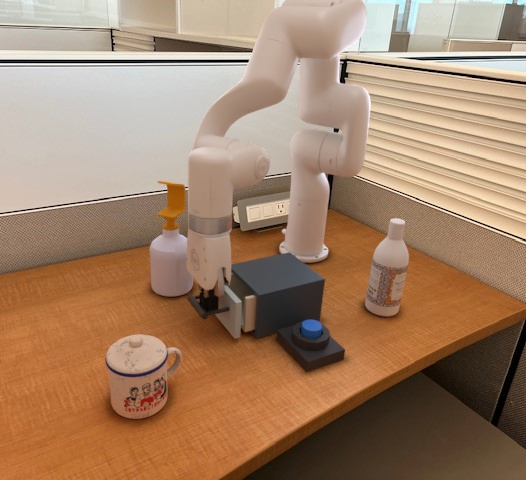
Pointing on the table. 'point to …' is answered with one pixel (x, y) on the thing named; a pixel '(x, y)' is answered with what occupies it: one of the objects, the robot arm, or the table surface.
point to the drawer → (232, 307)
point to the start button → (311, 329)
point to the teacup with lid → (139, 375)
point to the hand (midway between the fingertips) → (208, 311)
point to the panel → (310, 347)
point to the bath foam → (388, 272)
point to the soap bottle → (170, 248)
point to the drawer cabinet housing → (281, 291)
